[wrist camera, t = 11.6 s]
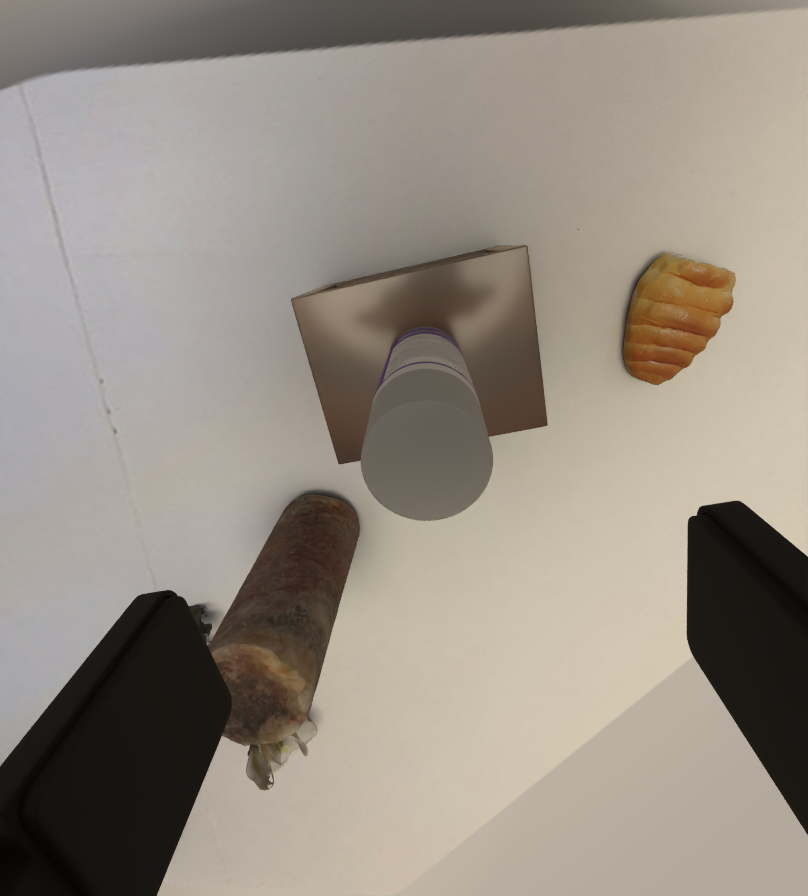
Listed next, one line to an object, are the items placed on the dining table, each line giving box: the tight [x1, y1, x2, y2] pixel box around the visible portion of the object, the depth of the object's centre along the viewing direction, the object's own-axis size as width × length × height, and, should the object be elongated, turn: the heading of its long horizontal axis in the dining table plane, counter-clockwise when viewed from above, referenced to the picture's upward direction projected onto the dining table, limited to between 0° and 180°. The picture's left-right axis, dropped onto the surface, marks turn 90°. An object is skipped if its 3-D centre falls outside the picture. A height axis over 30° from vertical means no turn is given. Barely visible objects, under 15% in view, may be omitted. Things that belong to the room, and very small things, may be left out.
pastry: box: [623, 253, 736, 385], centre depth 37 cm, size 9×7×4 cm
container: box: [361, 327, 493, 521], centre depth 23 cm, size 5×5×15 cm
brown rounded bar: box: [208, 494, 359, 746], centre depth 37 cm, size 8×7×20 cm
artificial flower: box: [189, 606, 317, 790], centre depth 51 cm, size 9×22×10 cm, turn 23°
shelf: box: [291, 245, 548, 464], centre depth 35 cm, size 11×14×10 cm
